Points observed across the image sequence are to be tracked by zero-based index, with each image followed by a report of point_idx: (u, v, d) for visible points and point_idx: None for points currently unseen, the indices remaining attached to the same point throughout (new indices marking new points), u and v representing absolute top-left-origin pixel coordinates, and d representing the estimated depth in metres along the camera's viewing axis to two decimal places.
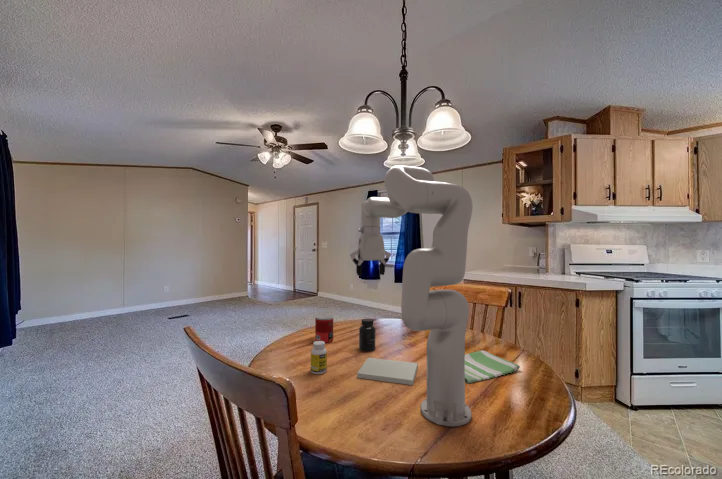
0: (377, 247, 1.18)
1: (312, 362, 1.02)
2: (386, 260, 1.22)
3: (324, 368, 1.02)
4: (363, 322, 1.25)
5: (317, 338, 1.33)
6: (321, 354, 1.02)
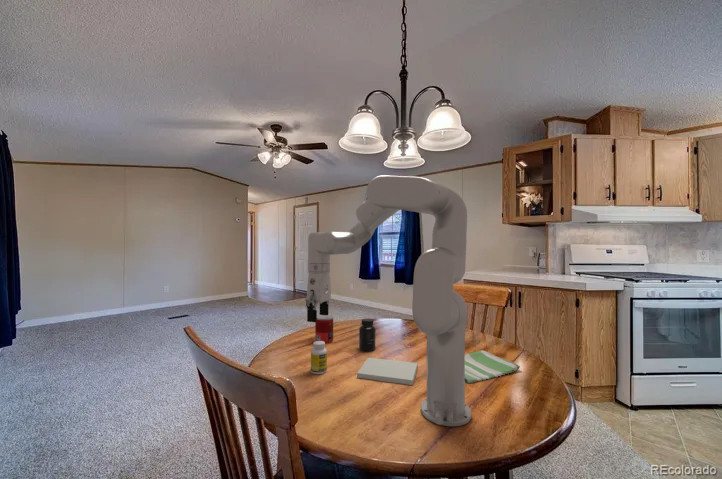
0: (327, 286, 1.05)
1: (312, 362, 1.02)
2: None
3: (324, 368, 1.02)
4: (363, 322, 1.25)
5: (317, 338, 1.33)
6: (321, 354, 1.02)
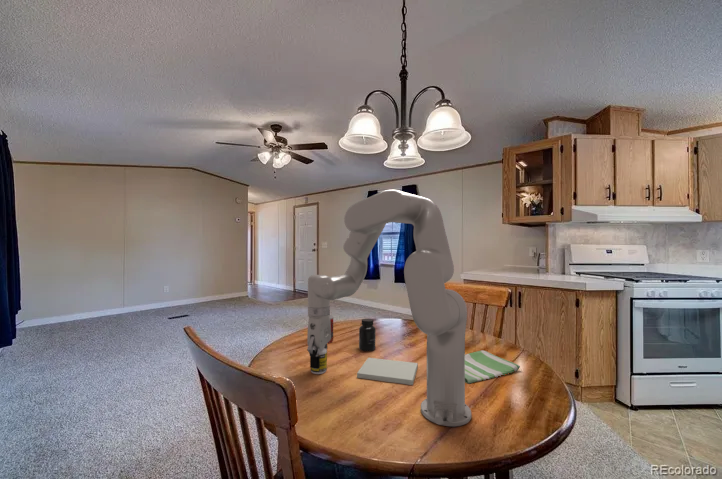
0: (328, 328, 1.05)
1: None
2: None
3: (324, 368, 1.02)
4: (363, 322, 1.25)
5: None
6: (321, 354, 1.02)
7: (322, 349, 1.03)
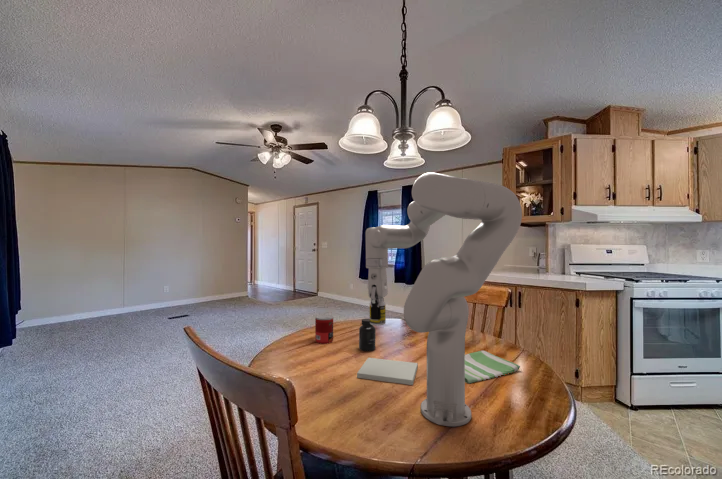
0: (386, 281, 1.04)
1: None
2: None
3: (384, 320, 1.02)
4: (363, 322, 1.25)
5: (317, 338, 1.33)
6: (381, 305, 1.01)
7: (381, 301, 1.02)
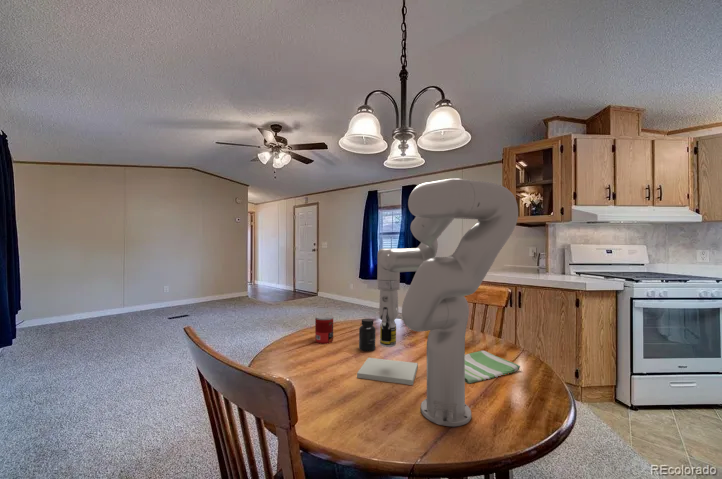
0: (397, 302, 1.04)
1: None
2: None
3: (394, 341, 1.02)
4: (363, 322, 1.25)
5: (317, 338, 1.33)
6: (392, 327, 1.01)
7: (392, 322, 1.02)
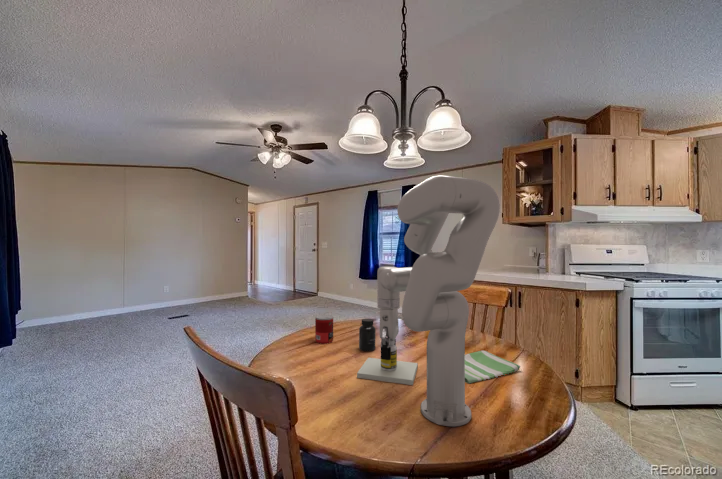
0: (397, 320, 1.04)
1: (383, 359, 1.01)
2: None
3: (395, 365, 1.01)
4: (363, 322, 1.25)
5: (317, 338, 1.33)
6: (393, 351, 1.01)
7: (393, 346, 1.02)
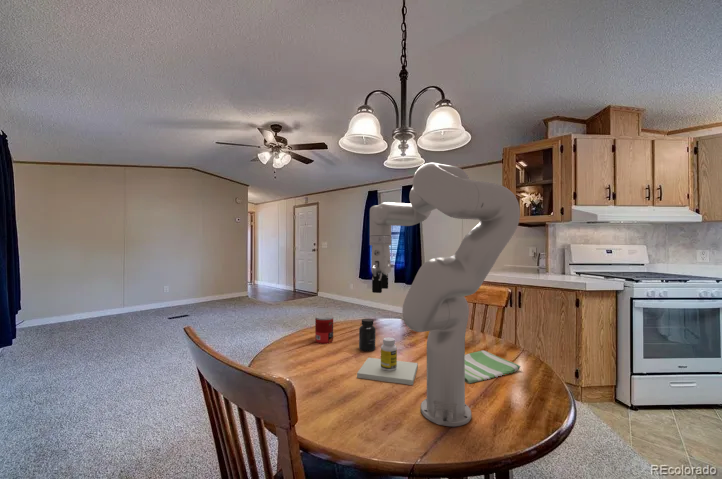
0: (389, 258, 1.06)
1: (383, 358, 1.01)
2: None
3: (395, 365, 1.01)
4: (363, 322, 1.25)
5: (317, 338, 1.33)
6: (393, 350, 1.01)
7: (393, 345, 1.02)
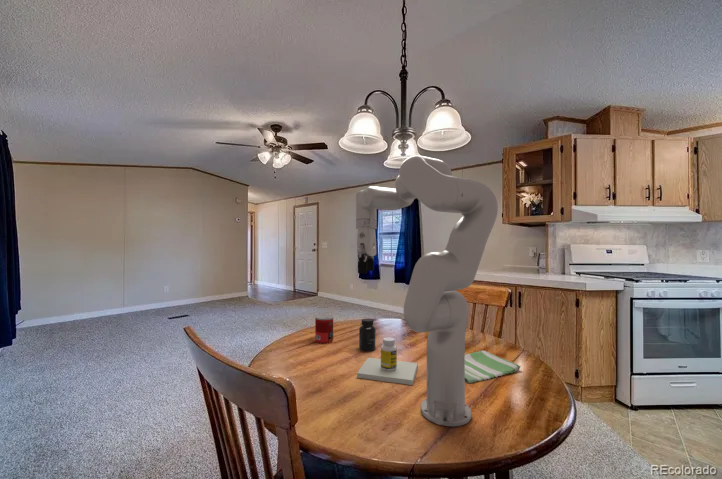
0: (374, 241, 1.11)
1: (383, 359, 1.01)
2: (372, 255, 1.16)
3: (395, 365, 1.01)
4: (363, 322, 1.25)
5: (317, 338, 1.33)
6: (393, 350, 1.01)
7: (393, 346, 1.02)
